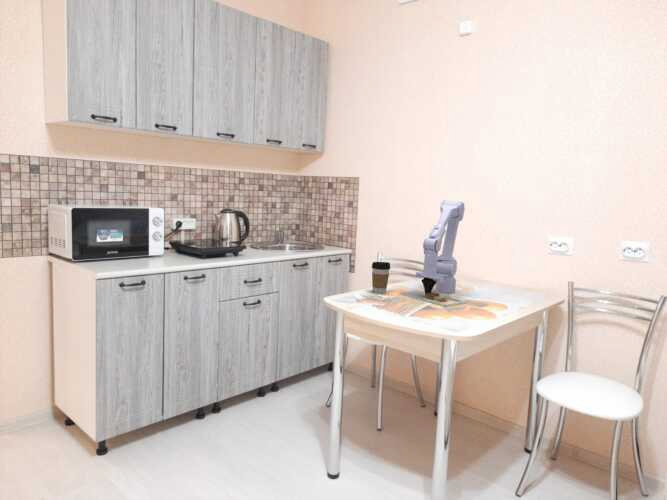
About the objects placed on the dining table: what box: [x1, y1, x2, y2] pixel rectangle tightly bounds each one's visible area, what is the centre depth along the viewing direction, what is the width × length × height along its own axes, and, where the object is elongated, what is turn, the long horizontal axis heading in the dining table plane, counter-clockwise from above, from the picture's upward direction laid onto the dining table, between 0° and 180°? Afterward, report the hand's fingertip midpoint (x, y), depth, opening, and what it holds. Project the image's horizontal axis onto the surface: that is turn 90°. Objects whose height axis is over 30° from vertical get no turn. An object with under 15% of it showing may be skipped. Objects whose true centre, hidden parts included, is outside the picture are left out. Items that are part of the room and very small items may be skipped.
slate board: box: [397, 290, 430, 302], centre depth 227 cm, size 14×15×1 cm
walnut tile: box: [426, 291, 441, 301], centre depth 222 cm, size 4×4×2 cm
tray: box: [422, 294, 467, 308], centre depth 217 cm, size 14×12×2 cm
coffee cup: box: [371, 261, 391, 295], centre depth 229 cm, size 8×8×15 cm
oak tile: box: [433, 295, 448, 303], centre depth 219 cm, size 4×4×2 cm
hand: (427, 295), depth 224 cm, fingers closed
